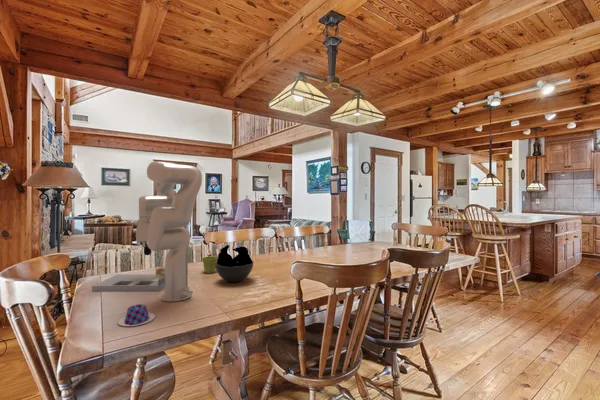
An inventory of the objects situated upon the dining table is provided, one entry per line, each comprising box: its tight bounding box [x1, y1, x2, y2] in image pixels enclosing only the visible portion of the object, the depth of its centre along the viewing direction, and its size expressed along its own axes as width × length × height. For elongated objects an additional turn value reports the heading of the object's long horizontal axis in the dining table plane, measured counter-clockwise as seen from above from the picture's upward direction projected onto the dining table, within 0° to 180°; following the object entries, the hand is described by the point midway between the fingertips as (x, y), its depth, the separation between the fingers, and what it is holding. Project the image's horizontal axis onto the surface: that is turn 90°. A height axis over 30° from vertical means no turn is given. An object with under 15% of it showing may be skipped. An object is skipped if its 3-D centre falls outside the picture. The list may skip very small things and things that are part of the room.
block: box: [155, 265, 165, 278], centre depth 158 cm, size 5×5×5 cm
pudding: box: [117, 304, 156, 327], centre depth 109 cm, size 12×12×5 cm
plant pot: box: [201, 255, 218, 274], centre depth 178 cm, size 9×9×9 cm
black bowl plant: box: [215, 244, 254, 283], centre depth 160 cm, size 20×20×19 cm
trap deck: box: [91, 273, 165, 292], centre depth 153 cm, size 32×21×6 cm, turn 92°
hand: (147, 254), depth 156 cm, fingers closed
